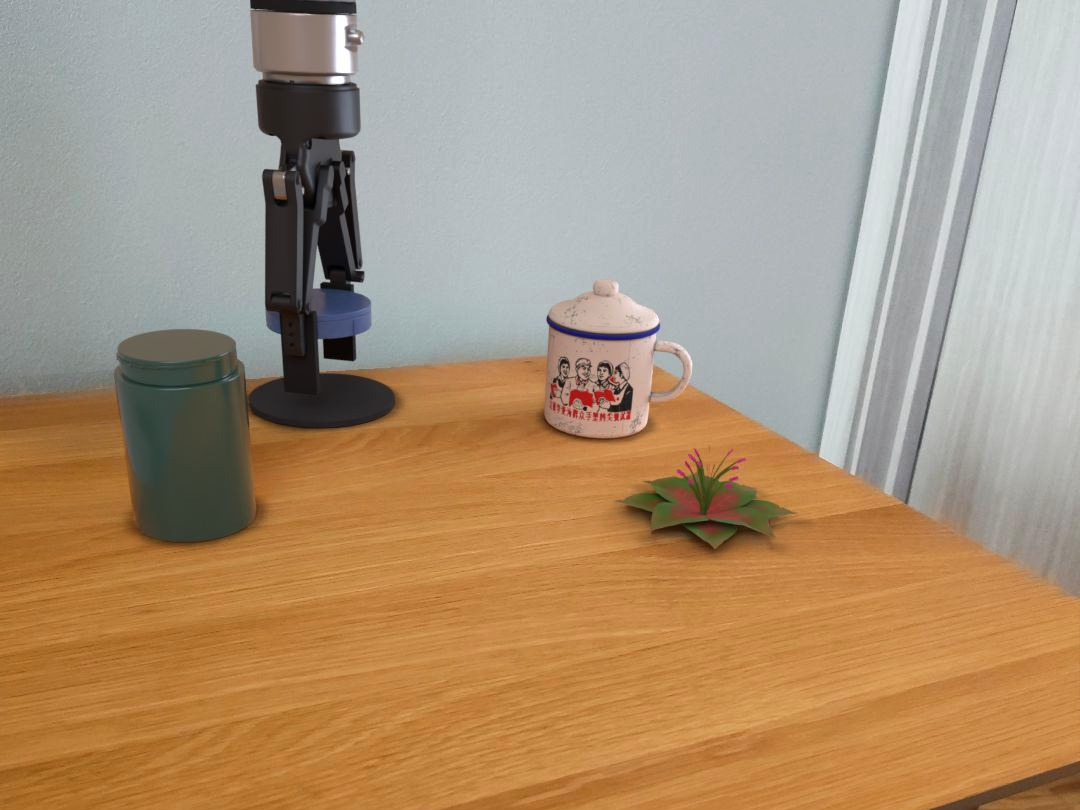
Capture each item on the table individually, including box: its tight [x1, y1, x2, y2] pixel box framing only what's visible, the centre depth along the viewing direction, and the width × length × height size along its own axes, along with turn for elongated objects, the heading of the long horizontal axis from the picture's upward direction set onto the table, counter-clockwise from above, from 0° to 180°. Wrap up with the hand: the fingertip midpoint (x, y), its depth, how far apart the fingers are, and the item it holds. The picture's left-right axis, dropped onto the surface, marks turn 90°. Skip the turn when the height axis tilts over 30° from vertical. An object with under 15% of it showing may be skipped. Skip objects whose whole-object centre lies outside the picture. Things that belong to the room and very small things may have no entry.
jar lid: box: [264, 287, 372, 340], centre depth 86 cm, size 8×8×2 cm
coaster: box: [248, 372, 396, 429], centre depth 89 cm, size 12×12×1 cm
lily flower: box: [613, 446, 799, 550], centre depth 72 cm, size 12×12×5 cm
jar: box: [113, 328, 257, 543], centre depth 66 cm, size 8×8×12 cm
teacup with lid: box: [543, 278, 693, 439], centre depth 85 cm, size 12×9×12 cm
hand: (322, 374), depth 88 cm, fingers closed on jar lid, 8 cm apart
